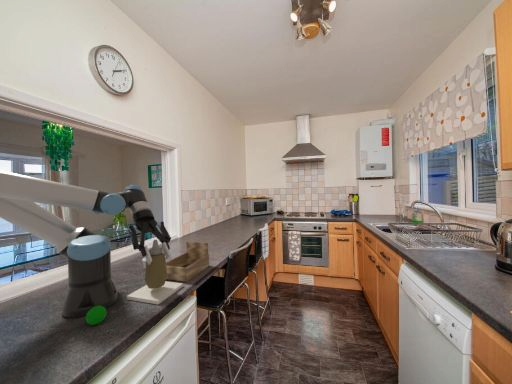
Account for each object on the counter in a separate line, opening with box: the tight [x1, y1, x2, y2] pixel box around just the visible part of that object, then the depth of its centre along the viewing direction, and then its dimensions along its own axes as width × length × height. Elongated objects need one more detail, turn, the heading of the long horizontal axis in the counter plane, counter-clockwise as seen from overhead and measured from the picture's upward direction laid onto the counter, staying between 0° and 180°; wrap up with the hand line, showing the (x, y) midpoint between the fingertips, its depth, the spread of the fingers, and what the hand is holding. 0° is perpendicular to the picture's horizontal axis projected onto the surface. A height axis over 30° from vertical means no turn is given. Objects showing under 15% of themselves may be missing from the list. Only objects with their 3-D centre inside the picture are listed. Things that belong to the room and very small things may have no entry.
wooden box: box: [166, 241, 210, 283], centre depth 100 cm, size 14×20×12 cm
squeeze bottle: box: [144, 239, 167, 289], centre depth 80 cm, size 8×8×18 cm
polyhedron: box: [85, 306, 108, 326], centre depth 62 cm, size 5×5×5 cm
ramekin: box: [141, 256, 167, 270], centre depth 107 cm, size 11×11×5 cm
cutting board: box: [126, 280, 184, 305], centre depth 80 cm, size 14×14×1 cm
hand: (159, 259), depth 78 cm, fingers closed on squeeze bottle, 6 cm apart
